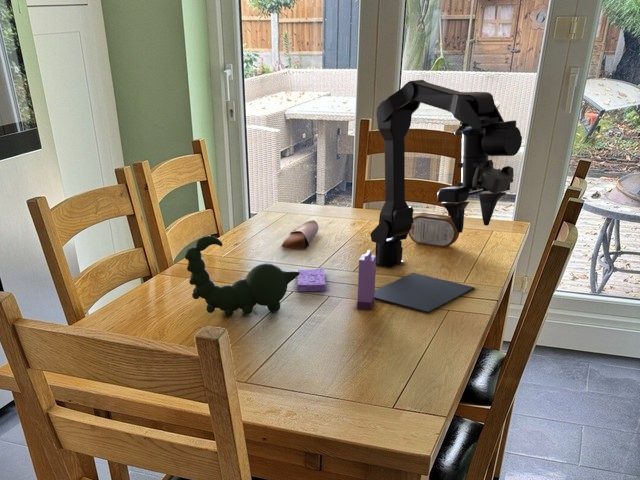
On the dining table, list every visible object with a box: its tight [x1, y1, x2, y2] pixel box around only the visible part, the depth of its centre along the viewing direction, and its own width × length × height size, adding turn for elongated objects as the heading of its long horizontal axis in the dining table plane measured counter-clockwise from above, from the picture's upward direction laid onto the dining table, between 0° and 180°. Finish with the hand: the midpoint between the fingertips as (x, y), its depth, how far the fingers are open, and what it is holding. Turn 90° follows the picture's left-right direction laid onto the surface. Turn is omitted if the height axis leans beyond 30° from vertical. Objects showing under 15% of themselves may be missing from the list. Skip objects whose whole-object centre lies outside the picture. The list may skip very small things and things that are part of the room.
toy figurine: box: [184, 235, 300, 318], centre depth 162 cm, size 9×19×25 cm
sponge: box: [297, 268, 327, 292], centre depth 182 cm, size 7×13×2 cm, turn 179°
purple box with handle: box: [356, 249, 377, 311], centre depth 165 cm, size 5×3×12 cm
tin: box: [408, 212, 460, 248], centre depth 205 cm, size 15×3×8 cm, turn 58°
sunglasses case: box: [280, 220, 320, 251], centre depth 213 cm, size 18×7×7 cm
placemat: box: [374, 272, 475, 315], centre depth 174 cm, size 18×21×1 cm
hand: (473, 228), depth 167 cm, fingers open, 9 cm apart
